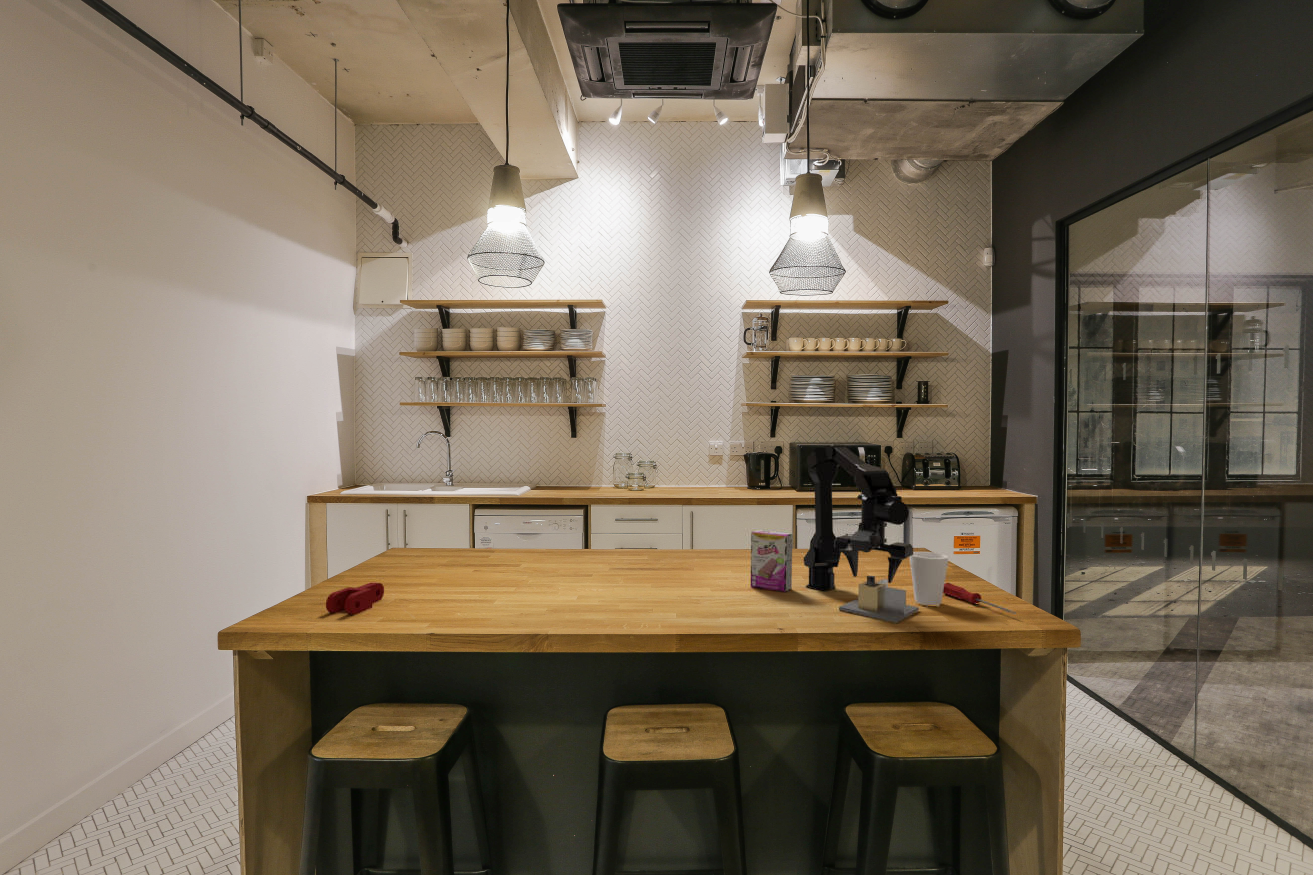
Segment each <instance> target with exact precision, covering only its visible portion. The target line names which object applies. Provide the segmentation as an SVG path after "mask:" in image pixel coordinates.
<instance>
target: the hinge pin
mask: <svg viewBox="0 0 1313 875" xmlns="http://www.w3.org/2000/svg"><path fill="white" fill-rule="evenodd" d="M866 581H867V585H869V586H874V587H875V582H876V576H875V575H867V576H866Z"/></svg>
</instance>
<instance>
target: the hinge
mask: <svg viewBox="0 0 1313 875" xmlns="http://www.w3.org/2000/svg"><path fill="white" fill-rule="evenodd" d="M888 584H889V583H888V578H883V579H880V580H877V581H875V587H874V586H869V585H867V580H866V581H863V582H861V583H859V584H858V595H857V596H858V598H857V599H858V608H861V609H866V610H871V611H875V612H878V611H880V610H883V611H887V612H892V613H897V614H902V615H905V614H906V605H907V603H906V602H907V589H901V588H896V587H891V586H888Z"/></svg>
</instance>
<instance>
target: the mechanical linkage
mask: <svg viewBox="0 0 1313 875" xmlns="http://www.w3.org/2000/svg"><path fill="white" fill-rule="evenodd" d="M384 594H385V587H384V585H383V583H381V582H368V583H365V584H362V585H360V586H357V587H351V586H350V587H349V586H348V587H345V588H341V589H339V590H337V591H332V592H331V593H330V594H329V595H328V596H327V598H326V601H325V608H326V611H327V612H328V613H331V614H338V613H341V612H343V611H345V613H346V614H347V615H353V616H355V614H356V615H358V614H360V613H362V611H363V612H365V611H368V610H370V609H372V608H373V604H375V603H377V602H379V600H380V601H381V600H382V599H383V598H384ZM374 602H375V603H374ZM372 603H373V604H372ZM367 609H368V610H367ZM342 610H343V611H342ZM340 611H341V612H340Z"/></svg>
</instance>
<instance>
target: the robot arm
mask: <svg viewBox="0 0 1313 875" xmlns="http://www.w3.org/2000/svg"><path fill="white" fill-rule="evenodd" d="M809 454H810V455H809V456H807V459H806V464H807V471H808V474H809V477H810V478H811V479H812V481H813V484H814V485H813V486H814V487H813V488H814V520H815V524H814V526H815V531H814V533H813V536H812V538H811V540H810V541H809V549H808V551H807V553H806V554H805V555H804V557H803V565H804V567H807V568H808V584H806V585H805V588H808V587H811V588H810V589H813V588H816V589H815V590H818V589H821V590H820V591H823V590H827V591H829V590H831V589H830V588H832V589H834V588H833V587H835V586H836V585H835V572H834V568H839V564H840V559H841V553H842V554H843V555H844V556H845V558H846V560H847V562H848V564H849V567H850V570H851V572H852V576H853V577H854V578H856V577H858V572H859V571H858V570H859V553H860V552H862V553H870V552H871V551H872V550H873V551H879V552H887V553H888V554H889V555H890V556H888V557H887V561H888V572H887V579H888V584H891V583H892V582H893V580H894V578H895V576H896V573H897V571H898V569H899V567H900V565H901V563H902V561H903V560H905V559H908V558H910V556H912V555H913V552H914V547H913V545H912V544H911V543H906V542H899V541H896V542H894V543H891V544H888V542H887V541H888V539H887V538H885V534H886V527H887V526H888V523H889V524H892V525H896V526H901V525H903V524H904V523H906V521H907V520H908V518H909V514H910V512H909V508H908V506H907V504H905V502H903V501H902V496H900V495H898V493H897V488H895V486H894V484H893V481H892V478H891V477H890V474H889V472H888V471H887V470H886V469H883V468H881V467H879V466H875V465H871V464H869V463H867V462H865V460H863V459H862V458H860V457H859V456H858V455H857V454H856V453H854V452H852V450H850V448H848V446H847V445H845V444H843V443H842V444H836V443H835V444H831V443H830V445H827V446H826V447H824V448H820V449H819V450H815V451H813V452H811V453H809ZM839 466H840V467H841V468H842V469H844V471H846V472H847V473H849V475H851V476H852V477H853V480H854V485H855V486H856V487H857V488H858V489H859V491H860V492H861V493H859V494H858V496H857V500H861V514H860V515H861V516H860V517H861V518H860V519H861V520H860V521H861V522H859V523H858V528H857V531H855V532H854V533H853V534H852V535H847V534H845V535H840V536H837V537H836V534H834V520H833V519H834V518H833V517H834V516H833V514H834V513H833V481H834V480H835V478H836V476H837V475H838V467H839ZM886 543H887V544H886ZM835 588H836V587H835ZM828 589H829V590H828Z"/></svg>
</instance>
